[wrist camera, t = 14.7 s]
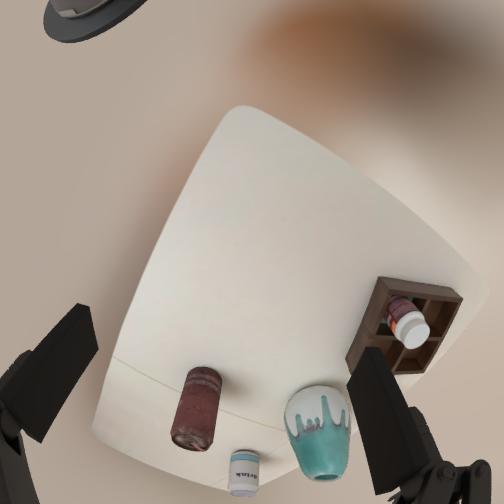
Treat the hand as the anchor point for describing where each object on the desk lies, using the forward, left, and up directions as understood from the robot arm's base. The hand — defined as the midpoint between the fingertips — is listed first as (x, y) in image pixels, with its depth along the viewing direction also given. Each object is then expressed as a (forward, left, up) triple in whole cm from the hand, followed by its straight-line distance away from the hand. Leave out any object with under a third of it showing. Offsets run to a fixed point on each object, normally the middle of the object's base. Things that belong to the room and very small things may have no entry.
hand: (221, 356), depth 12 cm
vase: (+30, +17, -24) cm, 42 cm away
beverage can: (+56, +8, -24) cm, 61 cm away
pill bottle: (+8, +23, -23) cm, 34 cm away
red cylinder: (+28, -3, -24) cm, 37 cm away
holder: (+12, +27, -24) cm, 38 cm away
